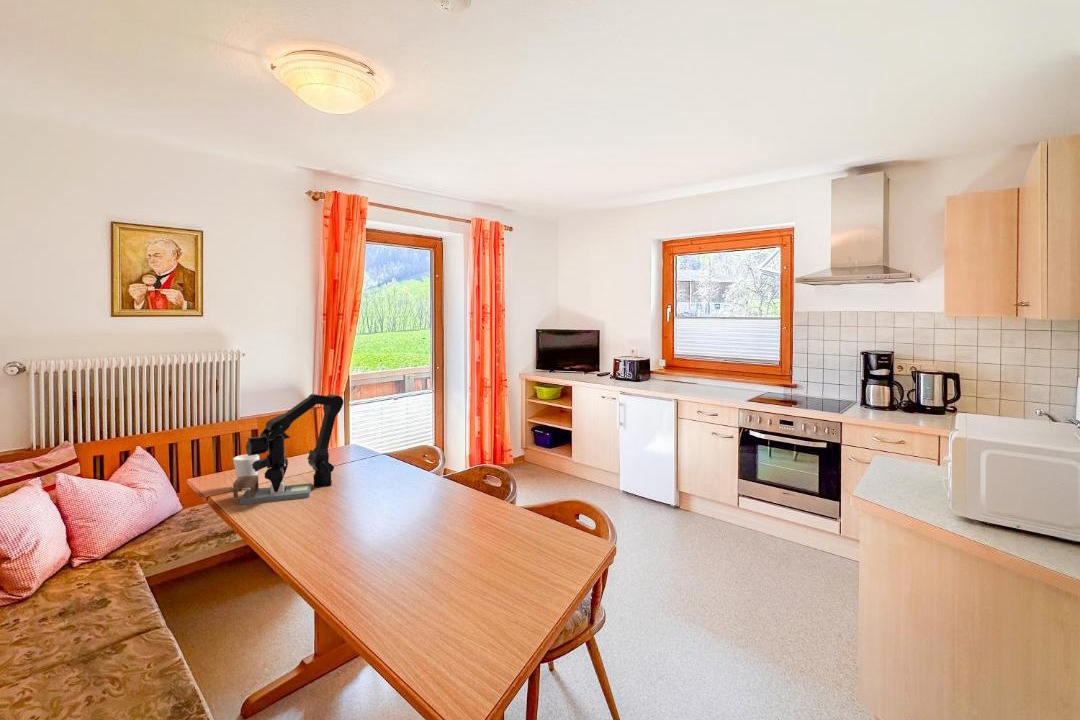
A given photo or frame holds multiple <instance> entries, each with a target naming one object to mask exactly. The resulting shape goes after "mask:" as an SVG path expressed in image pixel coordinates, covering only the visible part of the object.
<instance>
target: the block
mask: <svg viewBox="0 0 1080 720" xmlns="http://www.w3.org/2000/svg"><path fill="white" fill-rule="evenodd" d="M285 486H286V485H285V480H282V481H281V484H280V487H279V489H278V492H274V489H273V486H272V483H271V482H270V484H269V487H270V494H277V493H285Z"/></svg>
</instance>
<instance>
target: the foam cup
mask: <svg viewBox="0 0 1080 720" xmlns="http://www.w3.org/2000/svg"><path fill="white" fill-rule="evenodd" d="M232 459H233V466H234V469H235V470H234V471H235V476H236V479H237V478H238V477H241V476H253V475H259V471H255V470H254V469H253V466H252V464H253V462H255V461H257V460H260V454H256V455H251V456H248V454H247V453H246V454H240V455H237V456H235V457H233V458H232ZM247 489H249V488H242V490H247Z"/></svg>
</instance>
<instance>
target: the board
mask: <svg viewBox="0 0 1080 720" xmlns="http://www.w3.org/2000/svg"><path fill="white" fill-rule="evenodd" d="M312 487H313V486H312V483H302V484H301V483H299V484H291V485H289V484H288V485H285V493H277V494H270V486H269V487H261V488H259V489H258V490H255V496H254V497H251V489H245V491H244V493H243V495H242V496H241V498H240V506H241V505H242V506H243V505H249V504H261V503H269V502H278V501H280V502H281V501H287V500H297V499H308V498H310V496H311V491H312Z"/></svg>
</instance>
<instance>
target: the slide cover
mask: <svg viewBox="0 0 1080 720" xmlns="http://www.w3.org/2000/svg"><path fill="white" fill-rule="evenodd" d="M232 484H233V485H232V493H233V497H232V498H233V499H234V500H235V499H236V500H237V499H238V498H239V497H238V495H239V494H238V493H239V492H242V491H243V489H242V488H250V489H251V497H254V496H255V490H258V489H259V474H257V475H253V476H241V477H238V478H237V477H236V479H235V480H234V481H233V483H232Z"/></svg>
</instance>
